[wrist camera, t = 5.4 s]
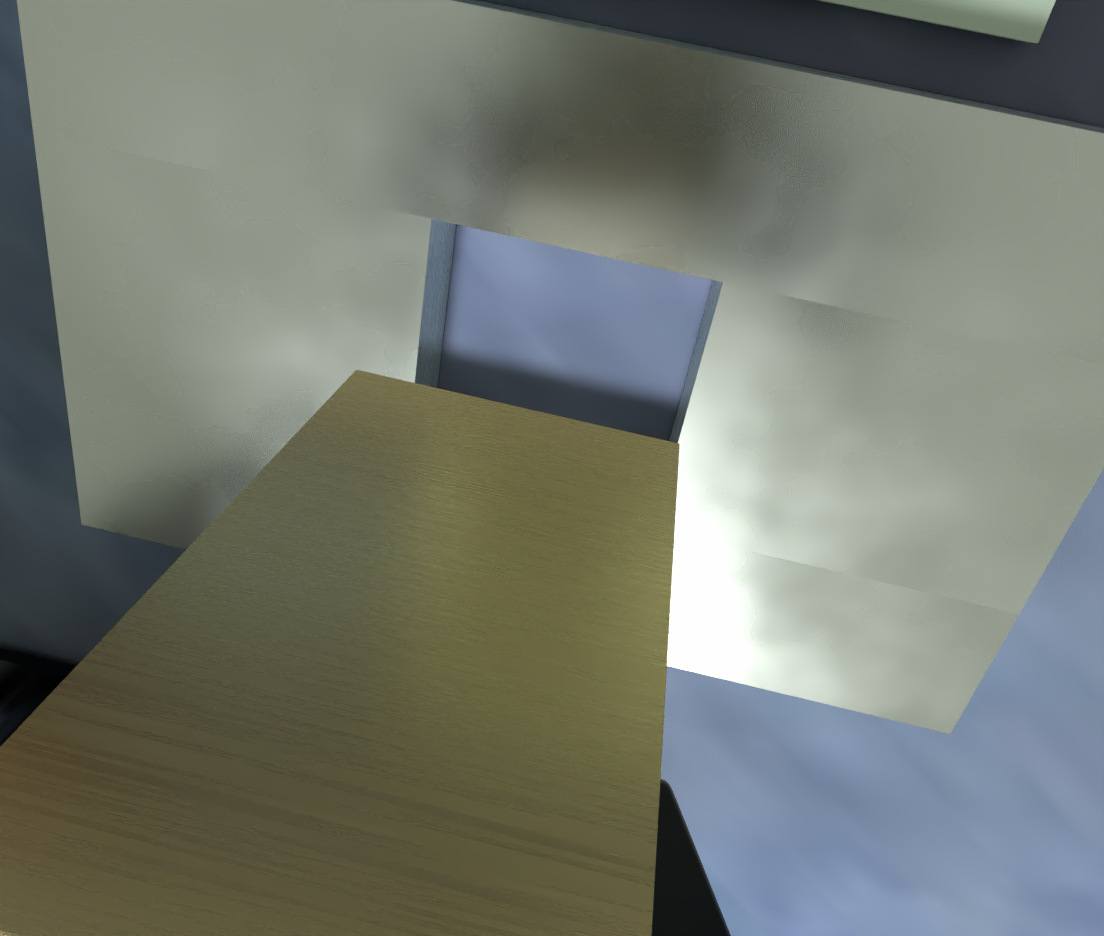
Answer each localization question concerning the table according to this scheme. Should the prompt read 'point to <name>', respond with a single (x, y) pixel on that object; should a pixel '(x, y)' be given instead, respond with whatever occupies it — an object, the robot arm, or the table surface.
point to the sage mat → (969, 14)
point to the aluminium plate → (612, 231)
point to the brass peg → (372, 695)
